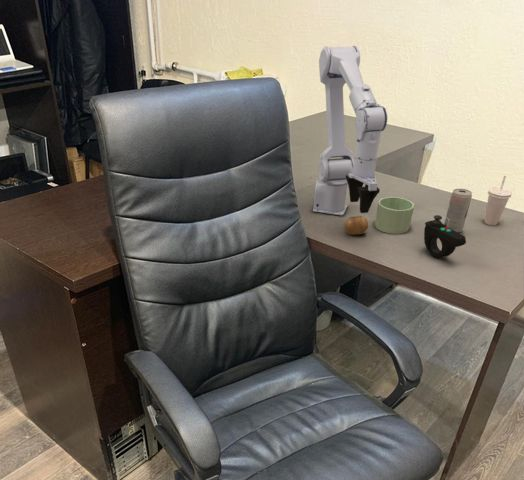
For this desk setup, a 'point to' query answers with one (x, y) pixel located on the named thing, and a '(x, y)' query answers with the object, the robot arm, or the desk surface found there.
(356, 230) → the bean
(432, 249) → the controller
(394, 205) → the cup
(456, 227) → the energy drink
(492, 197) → the smoothie
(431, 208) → the desk surface
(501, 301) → the desk surface
